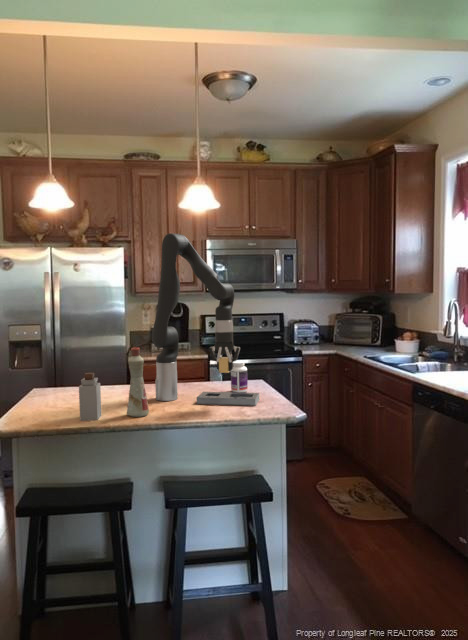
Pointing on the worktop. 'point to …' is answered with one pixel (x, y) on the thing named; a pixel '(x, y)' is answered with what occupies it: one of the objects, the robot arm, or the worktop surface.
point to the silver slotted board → (228, 398)
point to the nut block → (224, 365)
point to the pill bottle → (239, 377)
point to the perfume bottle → (89, 398)
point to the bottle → (137, 386)
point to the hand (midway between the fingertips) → (225, 370)
